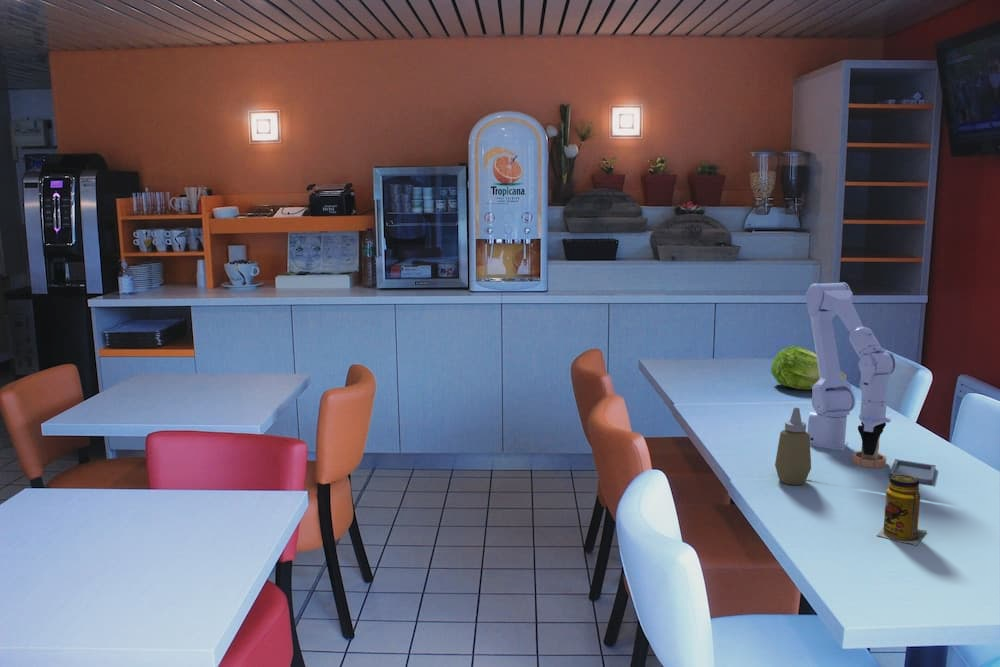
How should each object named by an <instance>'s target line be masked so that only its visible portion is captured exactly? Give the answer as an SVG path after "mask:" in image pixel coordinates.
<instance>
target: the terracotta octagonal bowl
mask: <svg viewBox="0 0 1000 667" xmlns="http://www.w3.org/2000/svg"><path fill="white" fill-rule="evenodd" d="M861 451H862V450H861ZM861 451H860V450H859V451H854V452H853V454H852V459H851V462H852V463H854V465H857V466H860V467H864V468H871V469H878V468H879V469H880V468H881V469H882V468H886V466H887V456H886V455H883V454H882V453H879V452H878V460H868V459H862V458H861Z"/></svg>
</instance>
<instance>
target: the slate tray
mask: <svg viewBox="0 0 1000 667" xmlns="http://www.w3.org/2000/svg"><path fill="white" fill-rule="evenodd" d="M936 466H937V465H934V464H928V463H924V462H923V463H922V462H915V461H911V460H910V461H909V460H902V459H898V458H895V459H894V461H893V464H892V465H891V469H890V471H889V474H888V478H889V479H890V477H891V476H892V475H908V476H912V477H914V478H916V479H918V480H919V484H926V485H931V486H932V485H933V481H934V477H935V472H936Z"/></svg>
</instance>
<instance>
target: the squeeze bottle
mask: <svg viewBox="0 0 1000 667" xmlns="http://www.w3.org/2000/svg"><path fill="white" fill-rule="evenodd" d="M791 413H792V414H791V416H790V420H786V421H785V423H784V429H783V430H781V431H780V433H779V439H778V445H777V450H776V457H775V461H774V462H775V463H774V467H775V470H776V474H777V478H778V479H779V481H780V482H782V483H784V484H787V485H794V486H795V485H796V486H800V485H804V484H805V483H806V481H807V478H808V476H809V475H810V472H811V469H812V458H811V445H810V435H809V434H808V431H807V424H806V422H803V421H802V417H801V410H800V408H799V407H793V408H792V412H791Z"/></svg>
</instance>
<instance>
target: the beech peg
mask: <svg viewBox="0 0 1000 667" xmlns="http://www.w3.org/2000/svg"><path fill="white" fill-rule="evenodd" d="M880 437H881V435H880V436H879V439H878V441H877V445H876V449H875V452H874V455H866V454H864V451H863V444H862V443H861V458H862V459H868V460H878V453H879V450H880V449H879V448H880V447H879V446H880Z"/></svg>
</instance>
